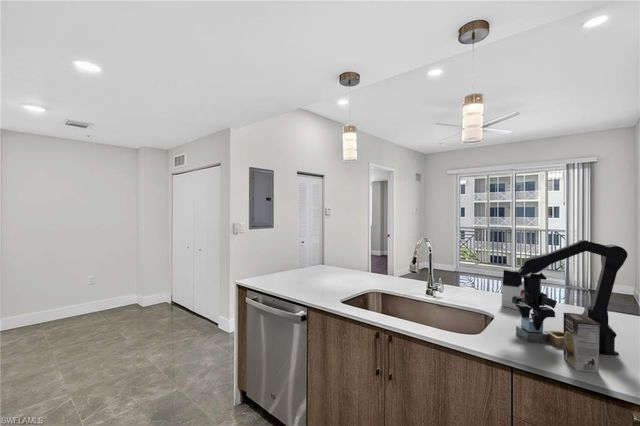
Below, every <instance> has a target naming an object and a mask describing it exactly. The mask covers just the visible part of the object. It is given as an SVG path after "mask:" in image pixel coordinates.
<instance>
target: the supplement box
mask: <svg viewBox="0 0 640 426" xmlns="http://www.w3.org/2000/svg"><path fill="white" fill-rule="evenodd" d="M521 290H524V278H522V285H520V286H519V287H510V286H503V278H502V279H501V307H502V306H503V307H505V308H510V309H513V310H517V311H519V310H518V308H517V307H516V306H515V305H517V304H514V303H512V298H513V297H514V296H524V293H522V292H521Z"/></svg>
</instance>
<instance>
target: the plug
mask: <svg viewBox="0 0 640 426" xmlns="http://www.w3.org/2000/svg"><path fill="white" fill-rule="evenodd" d="M520 322H521V323H520V324H521V325H520V326H521V327H522V328H524V329H525V330H527V331H528V332H543V331H544V322H543V323H542V325H541V327H540V330H539V331H537V330H536V329H535V327H534V323H533V320H532V317H529V318H528V317H522V316H521V321H520Z"/></svg>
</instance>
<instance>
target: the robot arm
mask: <svg viewBox="0 0 640 426" xmlns="http://www.w3.org/2000/svg"><path fill="white" fill-rule="evenodd" d="M584 252H588V253H592V254H595V255H599V256H600V263H601V269H600V273H599V277H598V280H597V284H596V287H595V288H596V289H595V292H594V296H593V300H592V302H591V304H589V305H584V308H583V309H584V310H583V311H582V312H583V313H582V314H584V315H586V316H587V317H589V318H591V319H592V320H594V321H595V322H597V323H599V355H614V356H615V355H620V353H619V352H618V351H616V350H615V341H616V340H615V339H616V338H617V333H616V332H615V331H614V330H613V328H612V327H611V326H610V325H609V311H608V307H609V305H610V300H611V296H612V292H613V288H614V285H615V281H616V279H617V278H616V277H617V273H618V272H619V270H620V269H621V268H622V267H623V266H624V264H625V262H626V260H627V258H628V252H627V250H626V249H625V248H623V247H622V246H618V245H616V244H609V243H608V244H606V245H605V244H602V243H597V242H594V241H593V242H592V241H589V240H586V239H581V240H578V241H576V242H574V243H572V244H569V245H566V246H564V247H561V248H558V249H556V250H553V251H550V252H548V253H545V254H539V255H535V256H530V257H527V258H525V259H524V260H523V265H522V266H521V267H520V268H519V269H518V270H509V269H503V276H502V279H503V286H510V287H519V286H520V285H522V279H524V290H521V292H522V293H524V296H514V297H513V298H512V303H514V304H517V305H515V306H516V307H517V308H518V310H517V311H518V313H519V314H520V315H521V317H528V318H532V320H533V323H534V327H535V329H536V330H537V331H539V330H540V327H541V325H542V323H543V324H544V321H545V320H546V319H547V318H556V312H555V308H556V305H557V302H558V301H557V300H556V299H553V298H550V297H548V296H547V293H544V292H542V285H541V284H542V283H541V282H542V280H545V281H546V280H547V277H546V275H544V273H543V272H541V271H543V270H545V269H546V268H548V267H549V266H551V265H553V264H555V263H557V262H560V261H562V260H566V259H568V258H571V257H574V256H577V255H579V254H582V253H584ZM531 310H532V312H531Z"/></svg>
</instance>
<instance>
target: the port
mask: <svg viewBox="0 0 640 426" xmlns="http://www.w3.org/2000/svg"><path fill="white" fill-rule="evenodd" d="M544 331H545V330H543V332H528V331H527V330H525V329H524V328H522V327H521V325H516V326H515V335H517V336H519V337H520V338H522V340H524V341H526V342H527V343H550V342H549V334H548V333H546V332H544Z"/></svg>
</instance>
